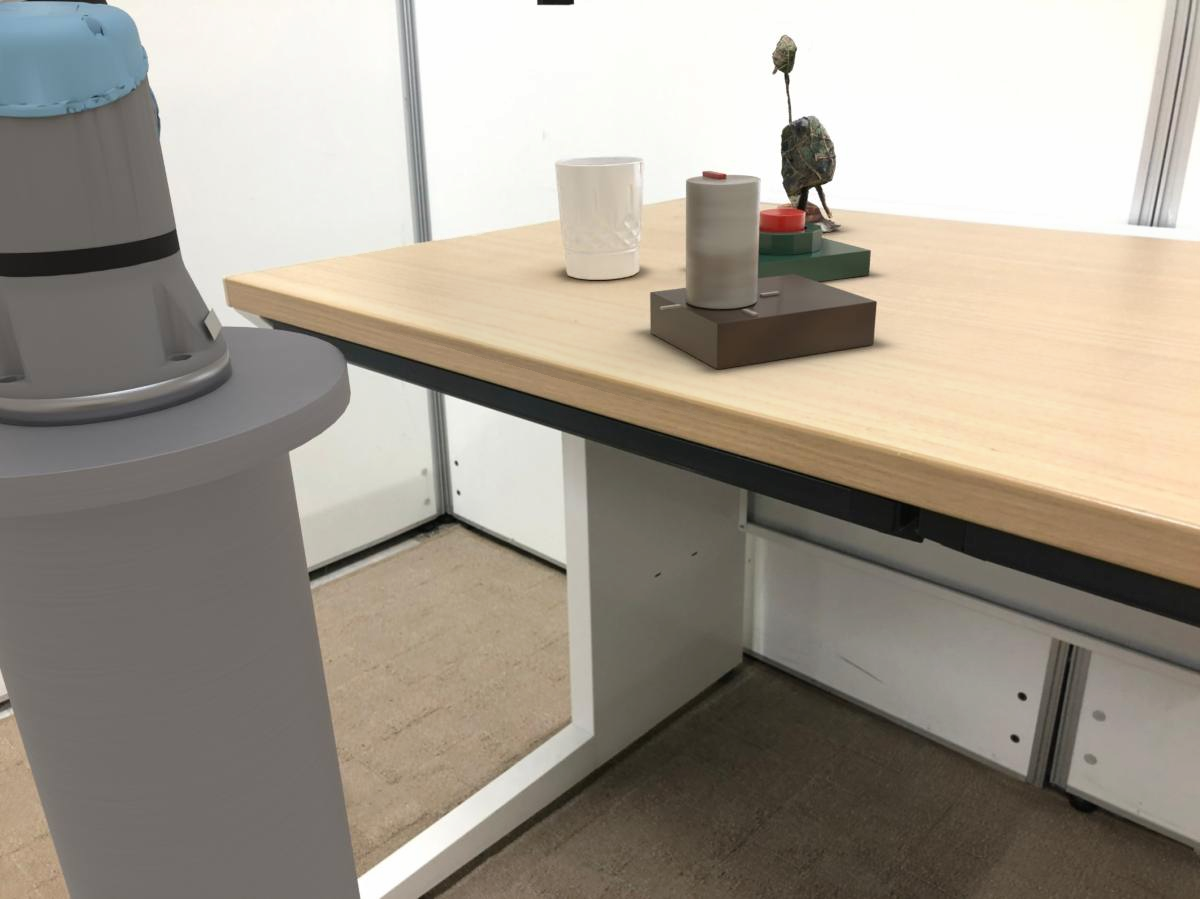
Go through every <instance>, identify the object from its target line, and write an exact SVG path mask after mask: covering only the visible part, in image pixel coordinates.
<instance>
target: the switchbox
mask: <svg viewBox="0 0 1200 899" xmlns="http://www.w3.org/2000/svg"><path fill="white" fill-rule="evenodd" d="M871 252H872V250H870V249H868V248H864V247H860V246H856V245H852V244H849V243H844V242H841V241H837V240H833V239H829V238H825V237H823V233H822V228H821V226H820V225H816V224H812V223H806V222H805V230H802V231H794V232H769V231H761V230H759V255H758V279H759V278H767V277H775V276H783V275H791V274H795V275H798V276H801V277H804V278H808V279H811V280H814V281H817V282H820V283H821V282H827V281H835V280H843V279H850V278H856V277H857V278H858V277H866V276H870V268H871V256H872V254H871Z"/></svg>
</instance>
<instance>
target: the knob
mask: <svg viewBox="0 0 1200 899" xmlns="http://www.w3.org/2000/svg"><path fill="white" fill-rule="evenodd" d="M701 174H702V175H699V176H693V177H689V178H687V179H686V180H685V288H686V302H687V303H688V304H690V305H692V306H696V307H700V308H708V309H734V308H742V307H747V306H750V305H753V304H755V303H756V302H757V289H758V255H759V222H760V211H761V188H762V186H761V184H762V180H761V178H760V177H759V176H754V175H746V174H745V175H744V174H727V173H723V172H718V171H712V170H703V171H702V173H701Z"/></svg>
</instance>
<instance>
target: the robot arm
mask: <svg viewBox="0 0 1200 899" xmlns="http://www.w3.org/2000/svg"><path fill="white" fill-rule="evenodd" d="M573 5H575V0H536V6H573ZM149 64H150V63H149V57H148V54H147V51H146V49H145V46H144V45H142V41H141V38H140V33H139V29H138V26H137V24H136V22H135V20H134V19H133V18H132V16H131V15H130V14H129V13H128V12H127V11H126V10H124V9H121V8H120V7H118V6H114V5H111V4H108V2H107V0H0V423H3V424H9V425H18V426H41V427H45V426H69V425H81V424H90V423H98V422H105V421H112V420H118V419H124V418H129V417H134V416H139V415H143V414H148V413H152V412H156V411H159V410H163V409H167V408H170V407H174V406H177V405H180V404H183V403H186V402H188V401H191V400H194V399H196V398H199V397H201V396H203V395H205V394H207V393H209V392H211V391H213V390H215V389H216V388H218V387H220V386H221V385H222V384H224V383H225V382H226V381H227V380H228V379H229V378H230V376H231V374H232V366H231V360H230V355H229V349H228V345H227V343H226V342H225V339H224V337H223V335H222V333H221V331H220V329H221V327H222V326H223V325H222V323H221V321H220V319H219V317H218V315H217V314H216V311H215V310H214V308H213V307H211V309H209V308H208V305H207V303H206V302H205V300H204V299H203V296H202V295H201V293H200V291H199V289H198V287H197V285H196V284H195V282H194V280H193V278H192V277H191V274H190V272H189V271H188V269H187V267H186V265H185V262H184V260H183V255H182V251H181V246H180V241H179V235H178V231H177V223H176V219H175V213H174V208H173V203H172V197H171V192H170V188H169V181H168V175H167V171H166V170H167V169H166V166H165V160H164V155H163V150H162V145H161V144H162V143H161V131H162V130H161V127H162V126H161V118H160V115H159V114H160V110H159V105H158V102H157V98H156V96H155V94H154V91H153V89H152V87H151V85H150V81H149V75H148V72H149V67H150V65H149Z"/></svg>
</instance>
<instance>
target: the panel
mask: <svg viewBox="0 0 1200 899" xmlns="http://www.w3.org/2000/svg"><path fill="white" fill-rule="evenodd" d="M649 303H650V304H649V309H650V310H649V312H650V313H649V314H650V316H649V319H650V322H649V323H650V324H649V325H650V334H652V335H654V336H655V337H657V338H659V339H661V340H663V341H664V342H667V343H668V344H670V345H672V346H674V347H676V348H677V349H680V351H683V352H685V353H687V354H689V355H691V356H692V357H694V358H696V359H698V360H699V361H702V362H703V363H705V364H706V365H708V366H710V367H712V368H714V369H716V370H721V369H722V370H723V369H729V368H734V367H741V366H747V365H752V364H760V363H766V362H773V361H778V360H785V359H792V358H797V357H798V358H799V357H804V356H809V355H816V354H824V353H828V352H835V351H836V352H837V351H842V350H847V349H855V348H860V347H866V346H872V345H874V343H875V333H876V332H875V329H876V316H877V305H878V302H877V300H875V299H871V298H869V297H864V296H863V295H859V294H856V293H854V292H853V293H852V292H849V291H846V290H844V289H841V288H837V287H836V286H835V287H834V286H831V285H828V284H826V283H823V282H821V281H820V282H817V281H814V280H811V279H808V278H804V277H801V276H798V275H795V274H791V275H783V276H775V277H767V278H759V279H758V289H757V302H756V303H755V304H753V305H750V306H747V307H742V308H734V309H708V308H700V307H696V306H692V305H690V304H688V303H687V302H686V287H680V288H672V289H663V290H657V291H650V292H649Z"/></svg>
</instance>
